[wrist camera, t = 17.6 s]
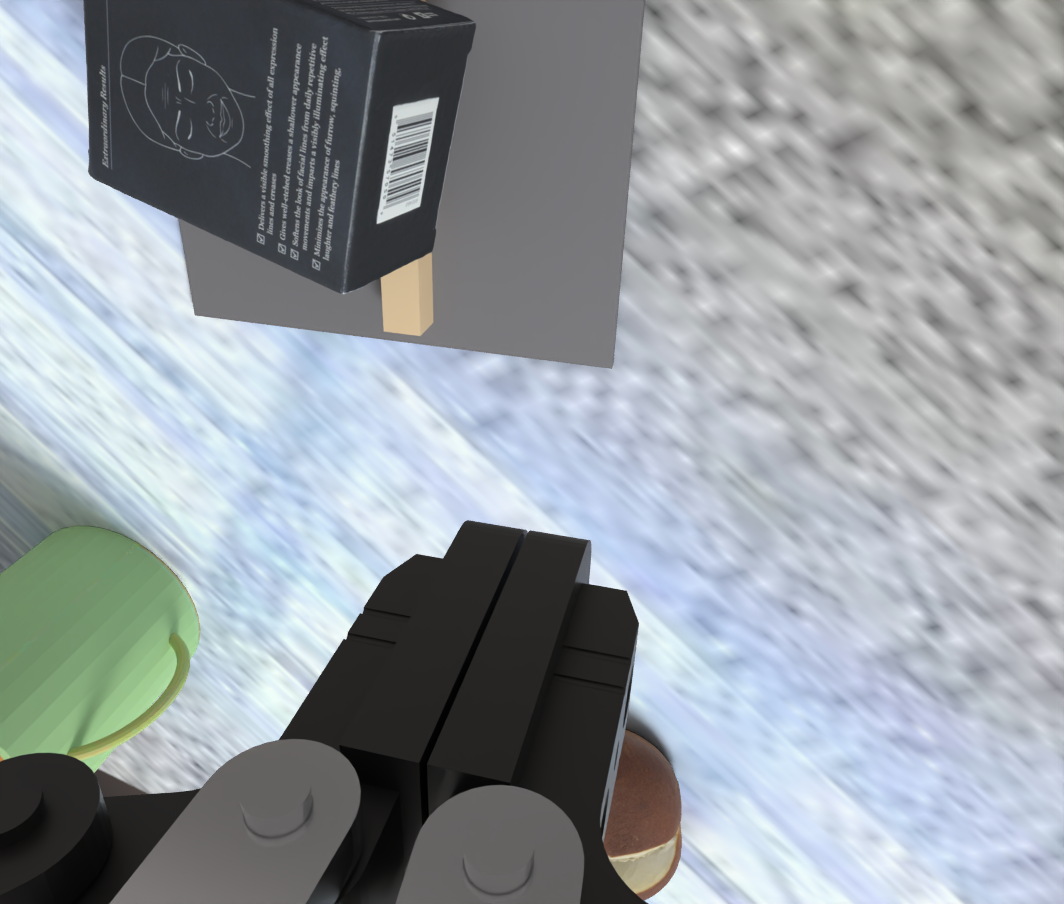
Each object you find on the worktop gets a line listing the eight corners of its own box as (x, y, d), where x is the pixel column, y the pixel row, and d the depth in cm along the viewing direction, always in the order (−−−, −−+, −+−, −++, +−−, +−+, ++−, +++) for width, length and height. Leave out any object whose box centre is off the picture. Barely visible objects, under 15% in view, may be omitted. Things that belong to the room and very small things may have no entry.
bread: (690, 724, 42) (680, 808, 38) (681, 874, 48) (672, 962, 43) (472, 692, 45) (441, 767, 41) (487, 838, 50) (461, 918, 46)
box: (484, 21, 27) (211, -82, 29) (382, 32, 22) (67, -92, 24) (437, 255, 31) (203, 149, 33) (344, 303, 26) (81, 177, 29)
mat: (655, -126, 26) (648, -132, 24) (613, 364, 34) (605, 384, 32) (126, -136, 29) (89, -142, 28) (200, 312, 37) (174, 327, 36)
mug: (68, 665, 51) (-106, 837, 41) (9, 517, 46) (-205, 671, 36) (258, 694, 49) (122, 887, 38) (218, 540, 44) (49, 714, 33)
